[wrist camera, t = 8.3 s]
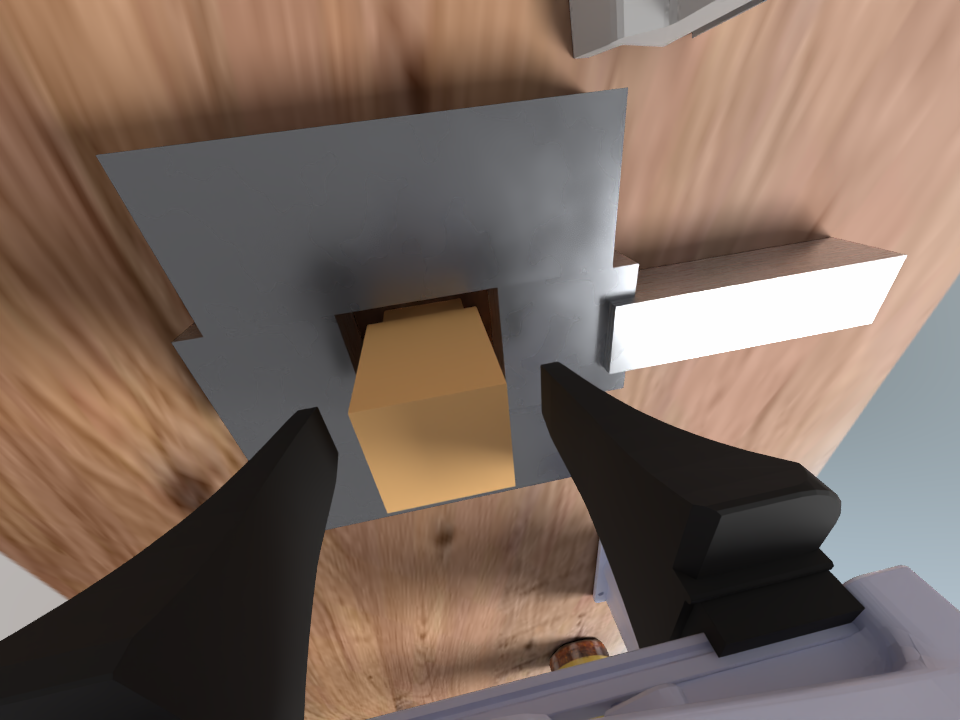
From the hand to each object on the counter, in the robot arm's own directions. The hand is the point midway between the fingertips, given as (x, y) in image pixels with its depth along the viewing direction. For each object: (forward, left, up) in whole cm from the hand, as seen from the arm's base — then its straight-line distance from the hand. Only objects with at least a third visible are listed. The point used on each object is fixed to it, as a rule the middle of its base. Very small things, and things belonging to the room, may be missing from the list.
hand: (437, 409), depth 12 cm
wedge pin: (0, 0, -5) cm, 5 cm away
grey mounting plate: (0, -5, -5) cm, 7 cm away
